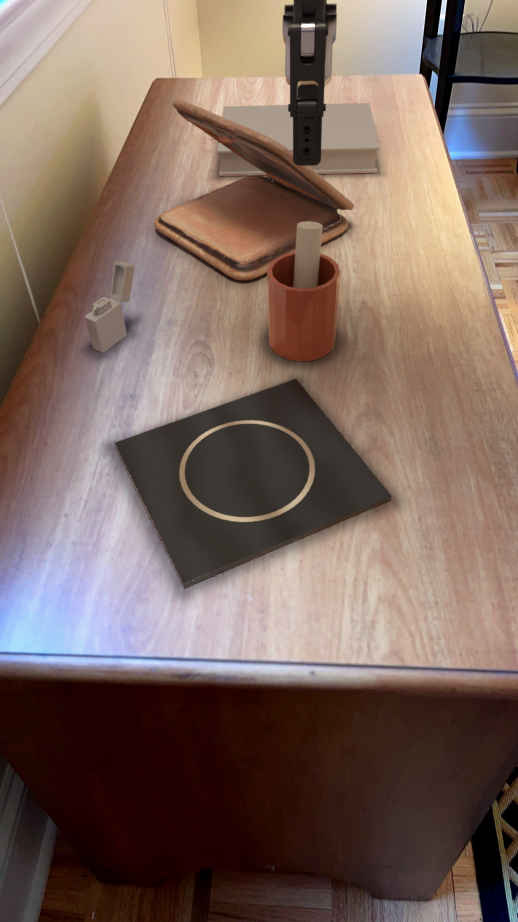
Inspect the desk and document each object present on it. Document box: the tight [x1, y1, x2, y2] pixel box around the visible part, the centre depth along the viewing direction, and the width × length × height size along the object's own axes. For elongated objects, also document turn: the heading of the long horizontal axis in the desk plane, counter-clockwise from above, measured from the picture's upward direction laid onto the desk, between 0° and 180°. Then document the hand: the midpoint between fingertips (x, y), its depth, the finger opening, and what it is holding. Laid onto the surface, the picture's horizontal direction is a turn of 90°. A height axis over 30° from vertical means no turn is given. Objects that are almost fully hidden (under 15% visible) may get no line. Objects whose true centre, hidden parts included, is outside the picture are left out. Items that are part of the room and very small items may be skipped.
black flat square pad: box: [114, 378, 392, 589], centre depth 64 cm, size 20×18×1 cm
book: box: [217, 102, 380, 177], centre depth 109 cm, size 18×4×24 cm
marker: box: [293, 221, 323, 289], centre depth 73 cm, size 3×3×12 cm
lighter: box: [84, 260, 135, 354], centre depth 76 cm, size 7×2×8 cm, turn 146°
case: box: [153, 98, 355, 281], centre depth 88 cm, size 20×21×16 cm
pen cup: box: [266, 252, 341, 362], centre depth 74 cm, size 7×7×9 cm
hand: (308, 141), depth 58 cm, fingers open, 8 cm apart
